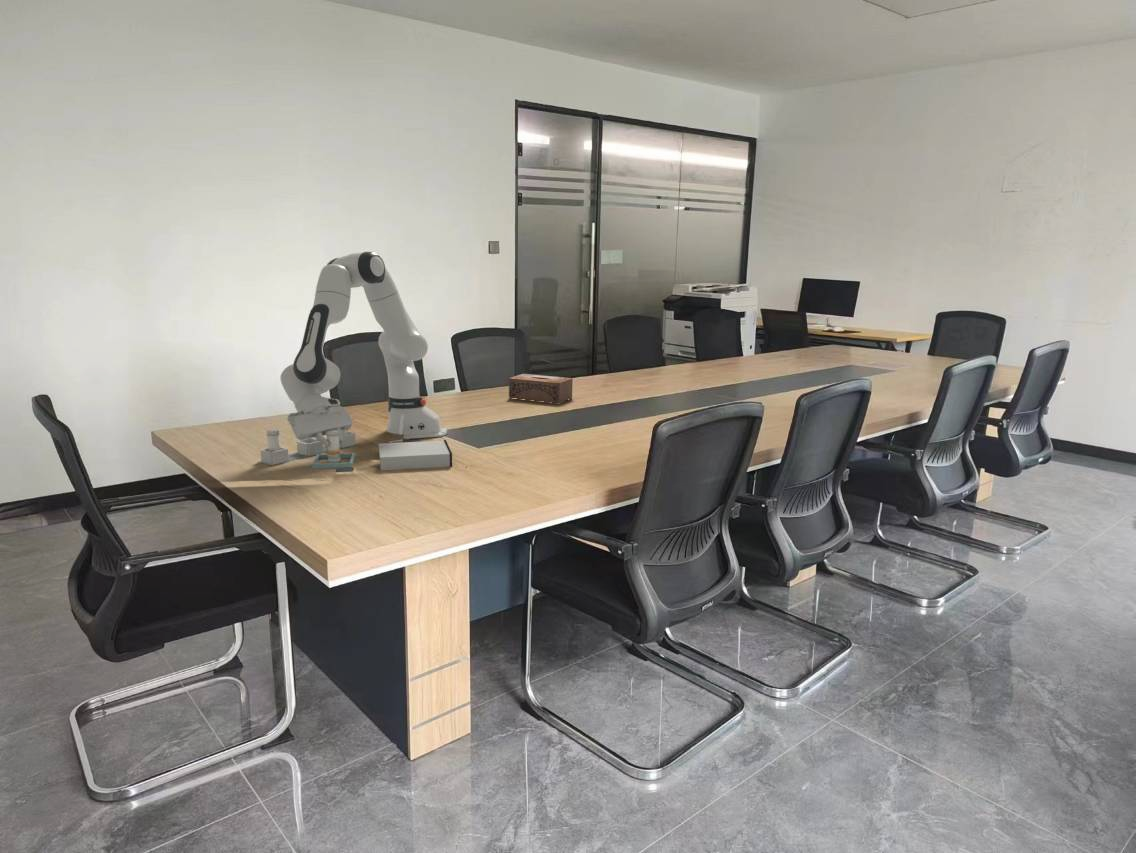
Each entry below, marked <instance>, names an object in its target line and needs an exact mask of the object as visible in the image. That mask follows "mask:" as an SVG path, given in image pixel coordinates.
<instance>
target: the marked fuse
mask: <svg viewBox="0 0 1136 853" xmlns="http://www.w3.org/2000/svg"><path fill="white" fill-rule="evenodd" d="M326 434H327V435H326V439H329V441H330V442H331V444H330V446H328V452H327V454H328V458H327V463H341V458H340V453H341V449H340V448H339V430H327V431H326Z"/></svg>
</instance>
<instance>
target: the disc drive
mask: <svg viewBox="0 0 1136 853" xmlns="http://www.w3.org/2000/svg"><path fill="white" fill-rule="evenodd" d="M378 455H379V456H378V457H379V465H380V466H379V468H380V471H392V470H394V471H396V470H409V469H411V470H412V469H428V468H429V469H431V468H445V467H447V468H448V467H451V468H452V467H453V453H452V450H451V448H450V446H449V444H448V442H447V439H443V440H434V441H433V440H430V441H429V440H428V441H411V442H410V441H409V442H405V441H404V442H388V443H378Z"/></svg>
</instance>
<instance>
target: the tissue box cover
mask: <svg viewBox="0 0 1136 853" xmlns="http://www.w3.org/2000/svg"><path fill="white" fill-rule="evenodd" d="M509 397H510V398H517V399H525V400H534V401H544V402H552V403H561V402H564V401H566V400H568V399H571V398H572V399H573V378H572V377H563V376H562V377H561V376H551V375H550V376H549V375H540V374H539V375H538V374H532V373H531V374H528V373H521V374H518V375H515V376H512V377H508V398H509ZM572 399H571V400H572ZM568 401H569V400H568ZM566 402H567V401H566ZM552 403H551V404H552ZM564 403H565V402H564ZM561 404H562V403H561Z"/></svg>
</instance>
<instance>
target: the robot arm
mask: <svg viewBox="0 0 1136 853" xmlns="http://www.w3.org/2000/svg"><path fill="white" fill-rule="evenodd" d="M360 287H362V288H363V290H364V291H363V292H364V294H365V297H366V299H367V301H368V304H369V306H370V308H371V311H372V314H373V315H374V319H375V320H376V322H377V323H378V325H379V326H380V328H382V330H383V331H382V332H381V333H380V334H379V336H378V347H379V349H380V350H381V353H382V356H383V360H384V363H385V368H386V372H387V381H388V396H387V410H388V421H387V427H386V432H387V433H391V434H395V435H402V436H403V437H402V439H403V440H409V439H410V440H411V439H423V438H424V439H425V438H426V439H427V438H440V437H444V436H446V435H447V432H448V430H447V428H446V427H445V426H442V423H441V420H440V417H439V415H438V414H437V413H436V412H435V411H433V410H432V409H430V408H429V407H428V406H426V404H427V400H426V399H425V397H424V396H421V395H420V377H419V373H418V371H417V370H416V367H415V363H414V362H416V361H420V360H422V359H424V357H425V356H426V355H427V353H428V348H429V346H428V342H427V340H426V338H425V337H424V336H423V335H422V334H421V332H420V331H419V330H418V328H417V326H416V325H415V323H414V321H413V320H412V318H411V317H410V315H409V314H408V311H407V310H406V307H405V306H404V303H403V300H402V297H401V295H400V293H399V291H398V288H397V285H396V283H395V281H394V279H393V277H392V276H391V274H390V272H389V271H388V269H387V268H386V265H385V262H384V259H383V258H382V257H381V256H380V255H379V254H378V253H377V252H374V251H364V252H355V253H349V254H348V255H344V256H341V257H335V258H333V259H331V260H330V261H329V262H328V263H327V264H326V265H325V266H323V267H322V269H321V270H320V273H319V277H318V280H317V283H316V288H315V294H314V300H313V306H312V308H311V309H310V311H309V314H308V317H307V320H306V326H305V330H304V334H303V338H302V342H301V346H300V348H299V351H298V352H297V355H296V356H295V358H294V360H293V364H290V365H287V366H286V367H285V368H284V369H283V371H282V372H281V374H280V383H281V385H282V387H283V390H284V392H285V393H286V396H287V397H288V399H289V400H290V401H292V403H293V404H294V408H295V410H296V412H293V413H292V412H291V413H290V414H289V415H287V421H288V423H289V425H290V427H291V429H292V432H293V434H294V436H295V438H296V439H297V440H298V441H300V440H305V439H310V438H315V439H316V440H318V441H319V442H321V443H323V446H324V447H327V446H330V444H331V442H330V441H329V439H327V438H325V437H324V436H327V434H326V431H327V430H339V444H340V443H342V442H343V441H344V440H343V438H342V431H345V430H348V431H349V430H350V429H351V428H352V426H353V424H354V421H353V419H352V417H351V415H350V414H349V413H348V411H347V410H346V408H345V407H343V406H342V405H341V401H340V399H337V398H331V397H329V398H328V397H325V396H322V394H324V393H326V392H329V391H331V390H332V389H334V388H335V387H337V386H338V385H339V383H340V381H341V377H342V372H341V369H340V367H339V365H337V364H336V363H334V362H333V361H331V360H330V359H328V358H326V357H325V354H324V352H323V351H324V350H323V348H324V343H325V339H326V335H327V331H328V328H329V327H330V325H336V324H338V323H340V322H342V321H344V320H345V319H346V318H347V315H348V313H349V309H350V304H351V292H352V289H354V288H360Z"/></svg>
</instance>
